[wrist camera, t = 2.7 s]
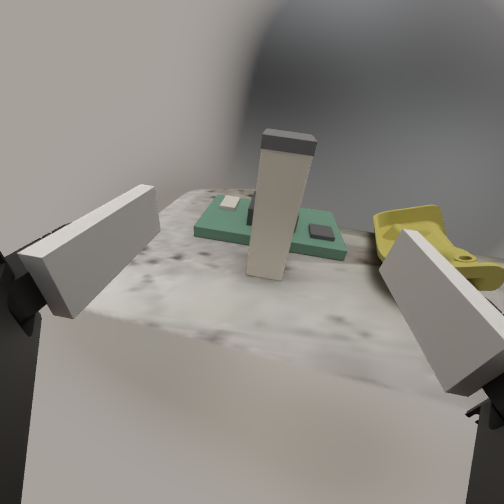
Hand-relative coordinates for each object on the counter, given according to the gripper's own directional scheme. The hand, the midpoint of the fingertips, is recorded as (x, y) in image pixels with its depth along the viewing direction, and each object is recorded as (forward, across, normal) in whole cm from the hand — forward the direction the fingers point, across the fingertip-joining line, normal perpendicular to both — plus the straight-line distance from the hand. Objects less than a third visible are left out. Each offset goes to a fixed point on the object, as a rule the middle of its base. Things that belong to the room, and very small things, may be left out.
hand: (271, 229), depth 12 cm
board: (+20, 0, -10) cm, 22 cm away
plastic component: (+16, +20, -10) cm, 27 cm away
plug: (+10, 0, -10) cm, 14 cm away
